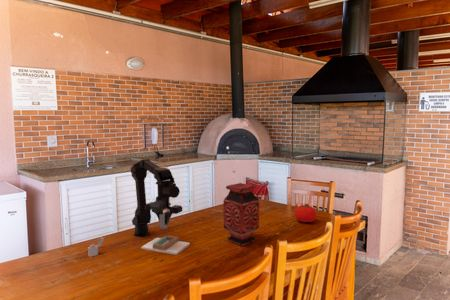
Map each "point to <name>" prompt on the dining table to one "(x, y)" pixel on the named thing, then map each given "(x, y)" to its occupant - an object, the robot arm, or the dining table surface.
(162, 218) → the grey block
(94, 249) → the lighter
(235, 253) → the dining table surface
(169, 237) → the seat board
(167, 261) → the dining table surface
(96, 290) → the dining table surface
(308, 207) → the tomato
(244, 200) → the vase
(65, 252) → the dining table surface
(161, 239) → the bar
